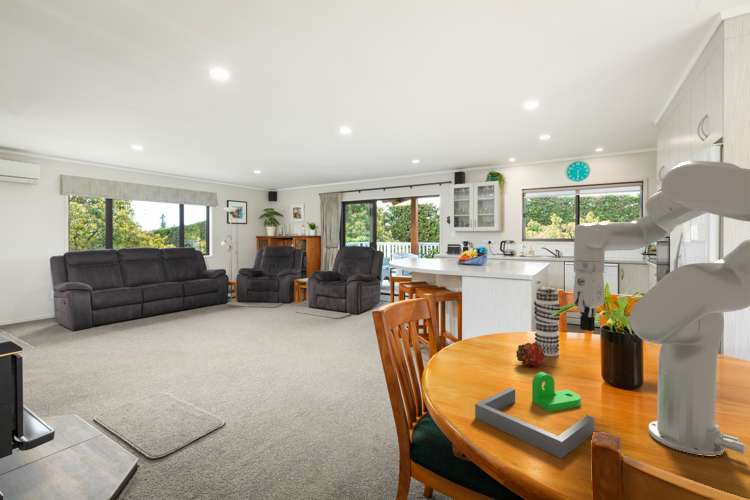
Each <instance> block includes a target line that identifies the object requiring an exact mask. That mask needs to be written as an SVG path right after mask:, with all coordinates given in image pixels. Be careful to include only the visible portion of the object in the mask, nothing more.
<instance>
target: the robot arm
mask: <svg viewBox="0 0 750 500" xmlns="http://www.w3.org/2000/svg"><path fill="white" fill-rule="evenodd" d="M660 189H661V190H659V191H657V192H656V193H654V194H652V195H650V196H649V197H648V198H647V200H646V201H645V211H646V213H647V214H646V215H644V216H641V217H640V218H638V219H636V220H633V221H623V222H622V221H620V222H619V221H614V222H613V221H611V222H610V221H609V222H604V221H603V222H599V223H598V222H597V223H581V224H577V225H576V226H574V236H573V237H574V238H573V240H574V241H573V272H575V273H574V274H575V275H574V282H573V292H572V293H573V294H572V295H573V299H572V300H573V301H572V302H573V305H574V306H575V307H577V309H576V310H577V312H579V316H580V318H579V320H580V321H579V322H580V325H579V327H580V330H583V331H588V332H592V331H593V332H594V331H595V326H596V325H595V324H596V323H595V319H596V317H595V316H596V311H597V308H598V307H601V306H603V305H604V304H605V278H604V273H605V253H606V252H609V251H610V252H613V251H635V250H639V249H643V248H644V247H648V246H650V245H652V244H655V243H658V242H660V241H661V240H662V241H663V239H665V238H667V237H668V236H670V234H671V233H672V232H673V231H674V230H675V229H676V227H678V226H679V225H682V224H685V223H687V222H690V221H691V220H693V219H695V218H697V217H701V216H702V215H704V214H712V215H716V216H719V217H723V218H728V219H732V220H736V221H741V222H749V223H750V168H744V167H740V166H738V165H736V164H734V163H729V162H726V161H725V162H724V161H710V160H709V161H707V160H706V161H705V160H688V161H685V162H681V163H679V164H678V165H675V166H674V167H672V168H671V169H670V170H669V171H668V172H667V173H666V174H665V175H664V177H663V179H662V181H661V188H660ZM747 308H750V236H749V237H747V238H746V239H744V240H743V241H742V242H740V243H739V245H737V246H736V247H735V248H734V249H733V250H731V251H730V252H729V253H727V254H726V255H725V256H723V257H722V258H720V259H718V260H716V261H711V262H698V263H689V264H686V265H685V264H684V265H681V266H679V267H676V268H675V269H673V270H671V271H669V272H668V273H667V274H666V275H665V276H663V277H662V278H661V279H660V280H659V281H657V283H655V284H654V286H653V287H652V288H650V289H649V290H648V291H647V292H646V293H645V294H644V295H642V297H640V298H639V299H638V301H636V303H635V304H634V305H633V307H632V308H631V311H630V314H629V324H630V328H631V329H632V331H633V333H634V334H635V335H636V336H638V338H639V339H641V340H642V341H645V342H647V343H651V344H658V345H660V349H659V351H658V352H659V353H658V361H657V362H658V364H657V400H656V401H657V403H656V404H657V406H656V407H657V408H656V409H657V411H656V420H655V421H651V422H649V424H648V433H649V435H650V436H651V437H653V439H655V440H656V441H657V442H659V443H661V444H663V445H664V446H666V447H669V448H670V449H673V450H675V449H676V450H675V451H678V450H679V452H681V451H683V452H682V453H684V452H689V453H693V454H702V455H718V454H722V453H723V452H724V451H726V449H729V450H731V451H733V452H736V453H740V454H742V455H745V453H746V452H745V451H746V444H745V443H743V442H740V441H739V438H738V437H736V436H731V435H729V434H724V433H723V432H722V431H720V425H719V424H716V402H717V401H716V399H717V398H716V397H717V395H716V393H717V375H718V373H717V370H718V355H719V349H720V345H721V341H722V337H723V334H724V328H725V320H724V316H723V313H730V312H737V311H741V310H744V309H747ZM724 453H725V452H724ZM722 455H723V454H722Z"/></svg>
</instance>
